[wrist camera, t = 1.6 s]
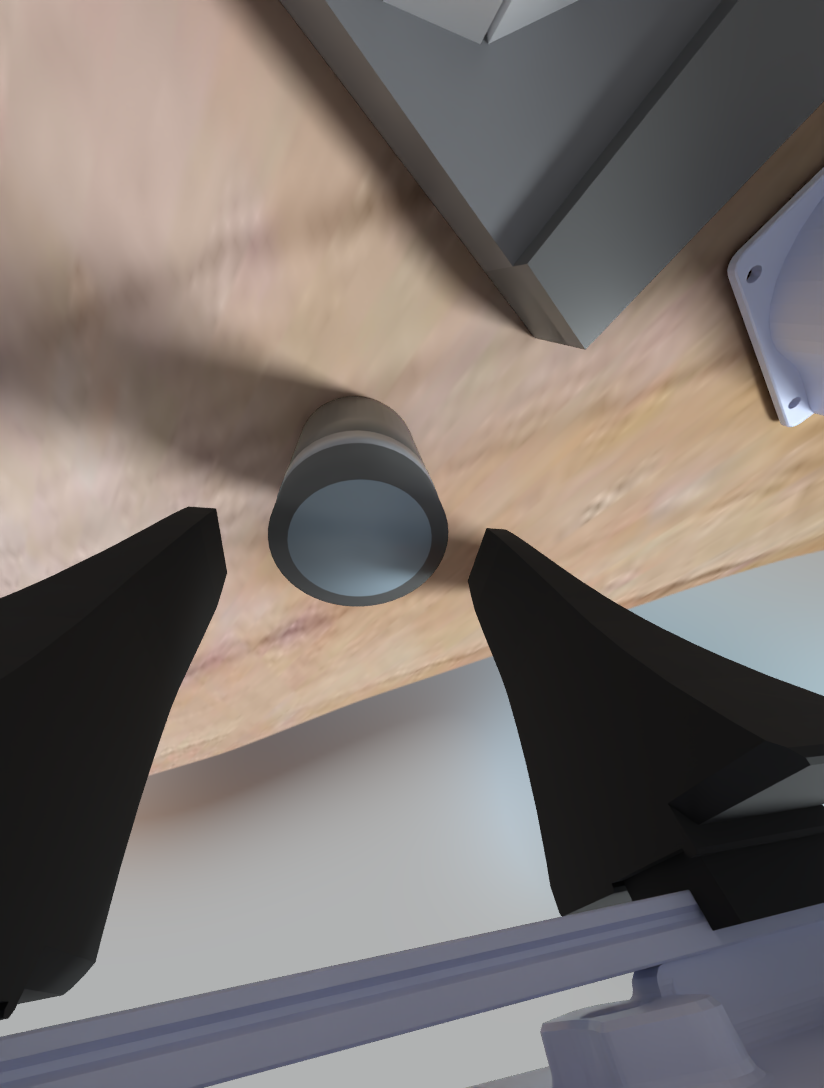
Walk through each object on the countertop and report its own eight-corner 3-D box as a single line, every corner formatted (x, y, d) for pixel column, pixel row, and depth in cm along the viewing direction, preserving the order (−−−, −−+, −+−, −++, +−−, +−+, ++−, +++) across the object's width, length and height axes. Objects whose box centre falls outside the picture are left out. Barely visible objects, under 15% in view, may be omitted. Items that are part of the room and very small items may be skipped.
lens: (438, 447, 15) (484, 528, 10) (369, 525, 17) (378, 627, 12) (342, 366, 13) (336, 416, 7) (275, 467, 15) (232, 563, 9)
